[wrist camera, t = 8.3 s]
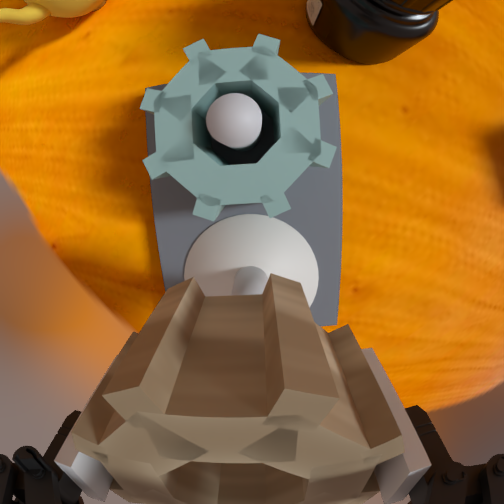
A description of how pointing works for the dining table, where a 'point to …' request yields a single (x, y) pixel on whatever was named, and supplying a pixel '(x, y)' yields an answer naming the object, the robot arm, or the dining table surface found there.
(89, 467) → the robot arm
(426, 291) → the dining table surface
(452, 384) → the dining table surface
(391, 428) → the birch gear
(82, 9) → the teapot
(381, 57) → the ink bottle
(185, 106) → the gear board
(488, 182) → the dining table surface
